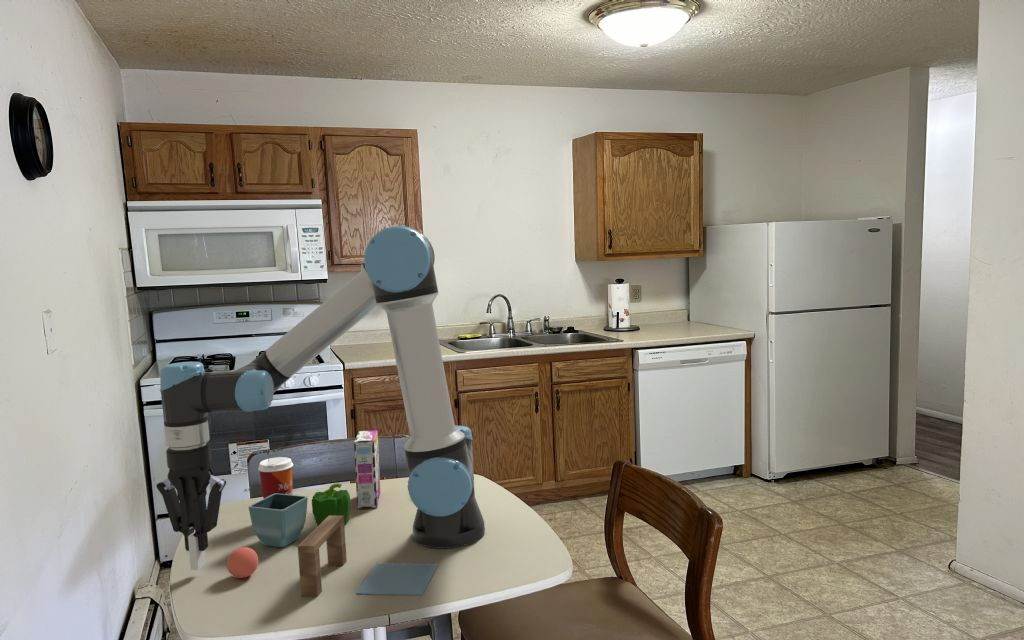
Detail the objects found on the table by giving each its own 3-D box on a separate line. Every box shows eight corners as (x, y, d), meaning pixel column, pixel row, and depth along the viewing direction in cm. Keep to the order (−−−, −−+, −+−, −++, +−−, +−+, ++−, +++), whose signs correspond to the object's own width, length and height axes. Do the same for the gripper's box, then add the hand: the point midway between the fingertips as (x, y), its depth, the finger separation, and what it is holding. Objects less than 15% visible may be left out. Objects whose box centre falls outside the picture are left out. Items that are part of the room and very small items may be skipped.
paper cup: (290, 526, 158) (286, 465, 157) (256, 527, 158) (252, 466, 157) (301, 513, 166) (297, 455, 165) (269, 515, 166) (265, 456, 165)
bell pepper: (304, 533, 154) (301, 488, 153) (326, 519, 162) (323, 477, 161) (338, 537, 151) (335, 491, 150) (358, 522, 159) (355, 479, 158)
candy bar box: (378, 508, 168) (374, 440, 166) (356, 510, 167) (352, 442, 166) (381, 492, 179) (378, 429, 177) (361, 494, 178) (357, 430, 177)
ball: (264, 570, 136) (262, 542, 136) (250, 583, 131) (248, 554, 130) (237, 569, 137) (235, 542, 136) (222, 583, 131) (220, 554, 131)
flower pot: (311, 536, 152) (308, 495, 151) (285, 553, 144) (282, 510, 143) (277, 532, 155) (274, 492, 154) (250, 548, 147) (247, 506, 146)
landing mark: (437, 565, 135) (437, 564, 135) (422, 595, 123) (422, 594, 123) (376, 564, 137) (376, 563, 137) (355, 594, 125) (355, 593, 125)
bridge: (346, 561, 139) (343, 515, 138) (317, 596, 124) (314, 546, 123) (331, 560, 139) (328, 515, 138) (301, 596, 125) (297, 546, 124)
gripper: (143, 450, 130) (154, 574, 132) (209, 450, 128) (220, 576, 130) (167, 440, 137) (178, 557, 139) (231, 439, 135) (240, 558, 138)
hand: (198, 566), depth 135 cm, fingers closed
